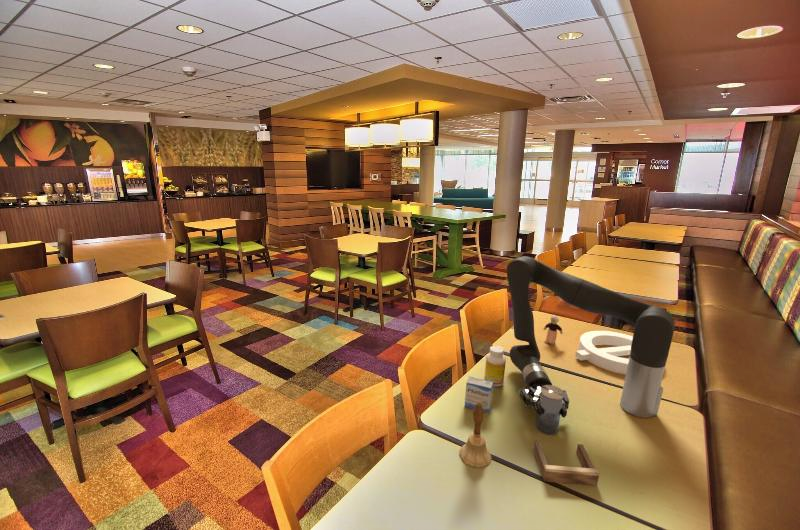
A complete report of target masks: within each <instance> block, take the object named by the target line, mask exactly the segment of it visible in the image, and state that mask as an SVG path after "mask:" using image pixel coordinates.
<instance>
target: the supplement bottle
mask: <svg viewBox="0 0 800 530" xmlns="http://www.w3.org/2000/svg"><path fill="white" fill-rule="evenodd" d="M504 353H505V350H504V348H503V347H502V346H499V345H492V346H490V347H489V353H487V354H486V355H485V356H486V357H485V366H484V367H485V368H484V376H483V377H484V378H483V380H487V381H492V382H494V385H493V387H494V388H495V387H501V386H503V385H504V381H505V372H506V362H507V361H506V360H507V359H506V356H505V355H504Z"/></svg>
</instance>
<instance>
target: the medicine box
mask: <svg viewBox="0 0 800 530" xmlns="http://www.w3.org/2000/svg"><path fill="white" fill-rule="evenodd" d="M465 384H466V385H465V396H464V407H465V408H470V409H473V410H474V409H475V407H476V404H477V403H481V404H482V408H483V411H484V413H490V411H491V407H492V403H493V393H494V386H493V385H494V382H492V381H487V380H484V378H478V377H475V376H470V375H469V376H468V378H467V380H466V382H465Z"/></svg>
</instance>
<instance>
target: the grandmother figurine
mask: <svg viewBox="0 0 800 530" xmlns="http://www.w3.org/2000/svg"><path fill="white" fill-rule="evenodd" d="M559 321H560V320H559V318H558V316H557V315H552V316H550V322H548V323H547V324H546V325H545V326H544V327H543V331H546V330H547V329H548V330H547V333H546V340H544V341H543V343H545V344H550V345H551V346H556V341H557V335H558V331H559V333H560V334H561V335H562V334H563V328H562V327H561V326H560V325H559V324H558V323H559Z"/></svg>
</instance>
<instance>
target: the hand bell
mask: <svg viewBox="0 0 800 530" xmlns="http://www.w3.org/2000/svg"><path fill="white" fill-rule="evenodd" d="M472 414H473V415H472V416H473V417H472V418H473V422H474V428H473V429H474V430H473V432H472V433H471V434H469V435H468V438H467V440H466V443H465V444H462V446H461V447H460V449H459V457H460V459H461V461H463V463H465V464H466V465H467V466H470V467H472V468H477V469H479V468H484V467H487V466H489V465H490V464H491V462H492V454H491V451H490V449H489V448H488V447H487V445H486V443H487V442H486V438H485V436H484V435H482V434H481V433H482V430H481V429H482V423H483V421H484V417H485V416H484V414H485V411H483V408H482V404H481V403H477V404H476V407H475V409H473V413H472Z"/></svg>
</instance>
